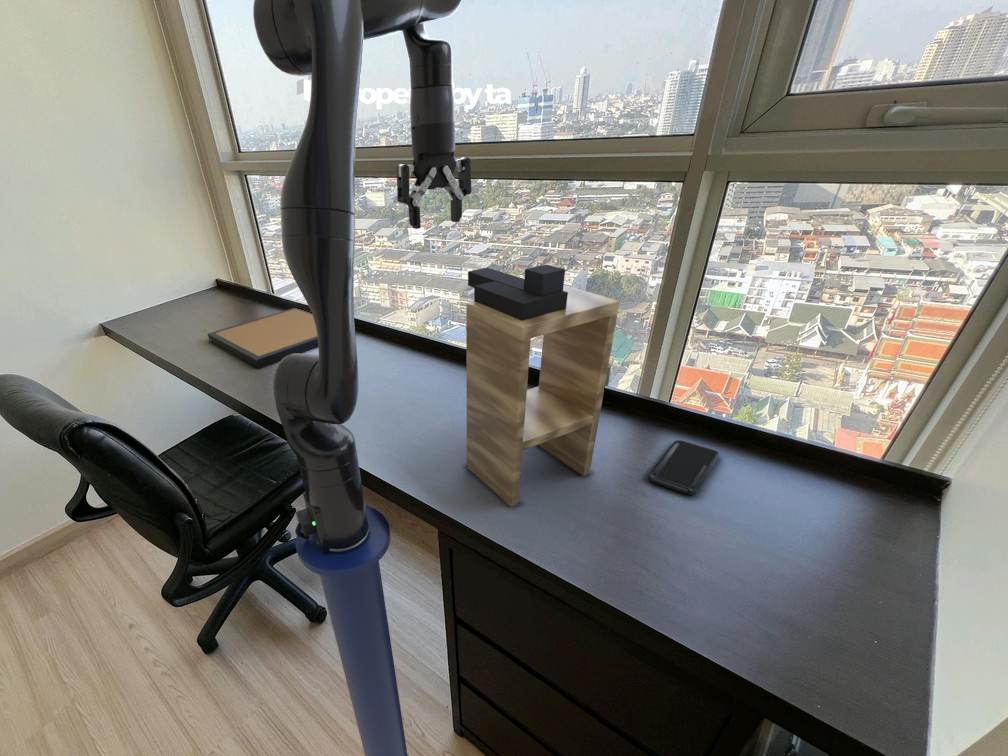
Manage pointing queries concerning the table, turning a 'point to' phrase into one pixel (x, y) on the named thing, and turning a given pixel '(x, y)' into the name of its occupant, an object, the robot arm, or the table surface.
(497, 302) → the pad
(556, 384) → the shelf
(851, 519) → the table surface
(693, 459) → the phone
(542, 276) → the pad
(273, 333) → the cork board
